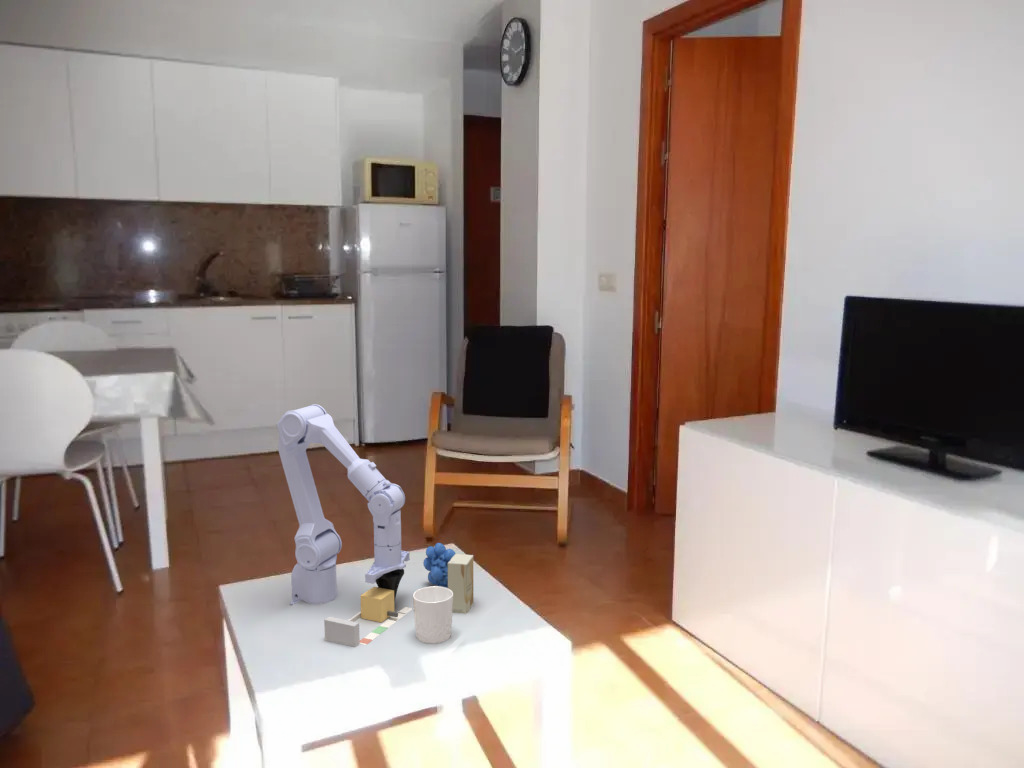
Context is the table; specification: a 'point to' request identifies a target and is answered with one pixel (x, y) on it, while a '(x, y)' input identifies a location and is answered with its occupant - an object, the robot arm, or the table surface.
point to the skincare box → (461, 582)
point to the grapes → (438, 564)
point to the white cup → (433, 613)
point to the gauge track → (355, 629)
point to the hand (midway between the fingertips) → (388, 603)
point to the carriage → (377, 604)
